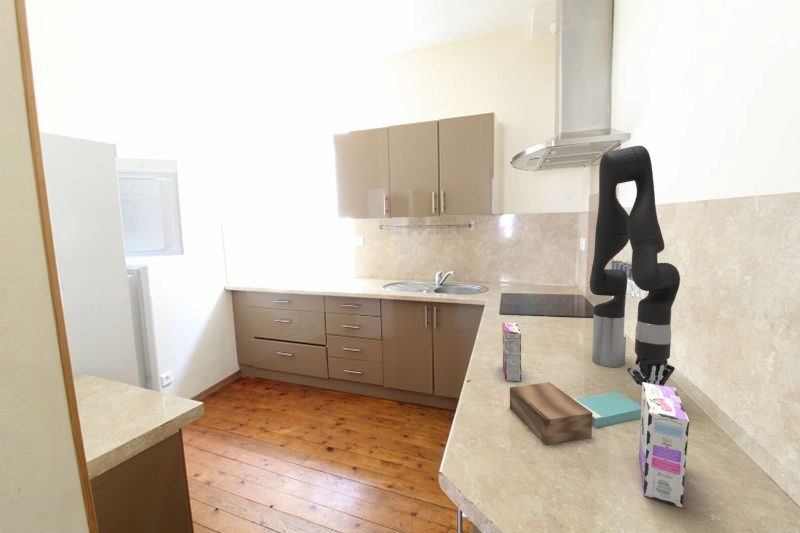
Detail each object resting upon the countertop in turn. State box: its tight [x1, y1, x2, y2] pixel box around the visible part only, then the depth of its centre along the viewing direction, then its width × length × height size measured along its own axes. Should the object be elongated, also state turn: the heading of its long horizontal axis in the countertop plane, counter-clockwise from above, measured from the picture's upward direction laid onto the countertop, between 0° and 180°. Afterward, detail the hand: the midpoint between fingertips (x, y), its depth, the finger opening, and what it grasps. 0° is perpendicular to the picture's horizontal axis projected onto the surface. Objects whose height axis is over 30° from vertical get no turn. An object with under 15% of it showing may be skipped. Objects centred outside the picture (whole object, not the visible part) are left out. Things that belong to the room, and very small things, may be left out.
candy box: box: [638, 382, 690, 508], centre depth 65 cm, size 14×6×16 cm, turn 148°
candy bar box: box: [501, 321, 522, 383], centre depth 112 cm, size 11×5×16 cm, turn 168°
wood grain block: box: [509, 381, 593, 445], centre depth 85 cm, size 12×16×6 cm
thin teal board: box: [573, 391, 641, 429], centre depth 88 cm, size 16×9×3 cm, turn 105°
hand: (649, 400), depth 91 cm, fingers closed
